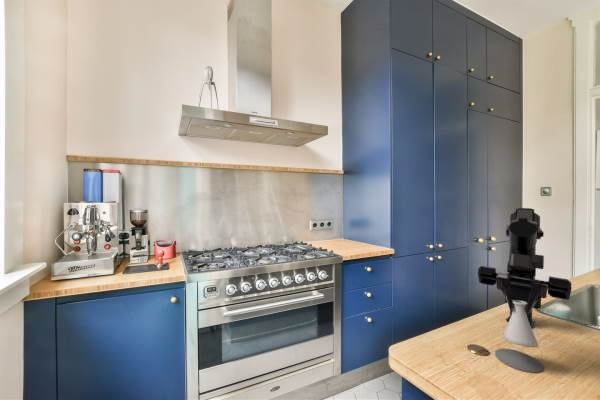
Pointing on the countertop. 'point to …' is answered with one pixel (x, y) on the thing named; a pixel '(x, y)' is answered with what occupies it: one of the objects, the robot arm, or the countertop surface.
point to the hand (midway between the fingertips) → (519, 311)
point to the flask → (520, 327)
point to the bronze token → (478, 350)
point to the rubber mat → (519, 360)
